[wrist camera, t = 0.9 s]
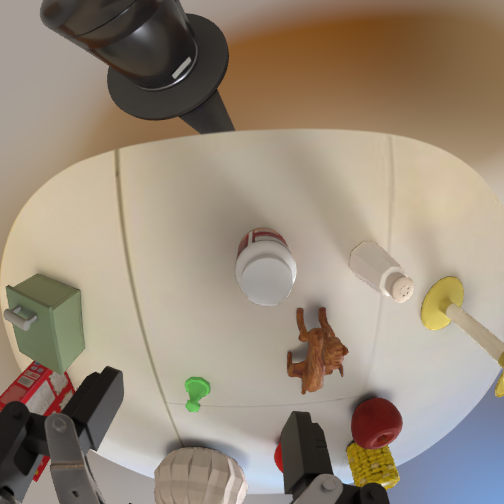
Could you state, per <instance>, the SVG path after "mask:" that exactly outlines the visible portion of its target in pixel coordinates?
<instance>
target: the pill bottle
mask: <svg viewBox="0 0 504 504" xmlns="http://www.w3.org/2000/svg"><path fill="white" fill-rule="evenodd" d="M235 277H236V281H237V283H238V285H239V287H240V288H241V289H242V291H243V292H244V294H245V296H246V297H247V298H248V299H249V300H250V301H252V302H253V303H255V304H258V305H261V306H272V305H276V304H278V303H280V302H282V301H283V300H284V299H286V298H287V296H288V295H289V294H290V292H291V290H292V286H293V283H294V281H295V277H296V263H295V260H294V258H293V256H292V254H291V252H290V250H289V248H288V246H287V244H286V242H285V240H284V239H283V237H282V236H281V235H280V234H278V233H277V232H276V231H274V230H271V229H267V228H259V229H255V230H253V231H251V232H249V233H248V234H247V235H246V236H245V237H244V238H243V239H242V241H241V243H240V245H239V249H238V255H237V260H236V265H235Z"/></svg>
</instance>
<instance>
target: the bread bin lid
mask: <svg viewBox="0 0 504 504" xmlns="http://www.w3.org/2000/svg"><path fill="white" fill-rule="evenodd" d="M6 292H7V299H8V304H9V309H6V310H5V311H4V318H5V319H6V320H8V321H9V322H11V323H12V324H13V328H14V332H15V336H16V340H17V344H18V348H19V351H20V352H22V353H23V354H25V355H26V356H28V357H30V358H31V359H33V360H35V361H36V362H38V363H40V364H41V365H43V366H45V367H47V368H49V369H50V370H52V371H54V372H56V373H58V374H60V375H62V374H63V373H64V372H63V367H62V363H61V359H60V354H59V349H58V344H57V339H56V333H55V327H54V320H53V313H52V306H50V305H48V304H46V303H44V302H41V301H39V300H37V299H35V298H33V297H31V296H29V295H27V294H25V293H23V292H21V291H19V290H17V289H15V288H13V287H11V286H9V285H8V286H6Z"/></svg>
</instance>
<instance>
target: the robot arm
mask: <svg viewBox="0 0 504 504" xmlns="http://www.w3.org/2000/svg"><path fill="white" fill-rule="evenodd" d="M40 17H41V20H42V22H43V24H44V25H45V26H47V27H48V28H49V29H51V30H53V31H54V32H56V33H58V34H59V35H61V36H63V37H64V38H66V39H68V40H70V41H71V42H73V43H75V44H76V45H78V46H79V47H81V48H83V49H84V50H86V51H87V52H89V53H91V54H92V55H93V56H95V57H96V58H98V59H100V60H101V61H103V62H104V63H106V64H107V65H109V66H110V67H112V68H113V69H114V70H116V71H117V72H119V73H120V74H122V75H123V76H125V77H126V78H127V79H129V80H130V81H132V83H133V84H135V85H136V86H137V87H139V88H140V89H143V90H145V91H150V92H159V91H164V90H168V89H170V88H173V87H175V86H177V85H178V84H180V83H181V82H183V81H184V80H185V79H186V78H187V77H188V76H189V75H190V74H191V73H192V71H193V70H194V68H195V66H196V64H197V61H198V57H199V51H198V47H197V44H196V42H195V40H194V36H195V34H194V31H193V29H192V27H191V25H190V23H189V20H188V18H187V16H186V14H185V12H184V10H183V8H182V6H181V3H180V1H179V0H43V2H42V4H41V8H40ZM123 397H124V386H123V373H122V371H120V370H117V369H115V368H112V367H109V366H106V367H105V368H104V370H103V371H102V373H101V374H99V373H97V372H94V373H92V374H90V375H89V376H87V377H86V378H85V379H84V381H83V382H82V384H81V385H80V386H79V388H78V389H77V391H76V392H75V393H74V394H73V396H72V397H71V399H70V400H69V401H68V403H67V404H66V405H65V407H64V408H63V410H62V411H61V412H60V413H53V414H51V415H49V416H43V415H40V414H36V413H32V412H29V409H28V408H27V406H26V405H25V404H24V403H22V402H20V401H11V402H9V403H7V404H6V405H5V407H4V408H3V409H2V411H1V412H0V504H22V501H23V499H24V496H25V494H26V492H27V490H28V488H29V485H30V483H31V481H32V479H33V477H34V475H35V473H36V471H37V468H38V466H39V464H40V462H41V460H42V458H43V457H44V455H45V456H48V457H50V458H51V465H50V471H51V475H52V479H53V483H54V487H55V490H56V493H57V496H58V500H59V502H60V504H106V503H105V501H104V498H103V496H102V494H101V492H100V490H99V488H98V485H97V483H96V480H95V478H94V475H93V472H92V469H91V467H90V464H89V461H88V457H87V455H86V454H87V452H88V450H89V449H92V450H95V451H97V450H98V448H99V446H100V444H101V442H102V440H103V438H104V436H105V434H106V432H107V430H108V428H109V426H110V424H111V422H112V420H113V418H114V417H115V415H116V413H117V411H118V409H119V407H120V405H121V403H122V401H123ZM281 450H282V463H283V477H284V490H285V494H292V495H293V500H292V501H291V502H290V503H289V504H390V503H389V499H388V496H387V492H386V489H385V488H384V487H383V486H382V485H381V484H379V483H375V482H371V483H367V484H365V485H364V486H363V487H358V486H351V485H347V484H344V483H342V482H341V480H340V479H339V478H338V477H336V476H334V474H333V471H332V466H331V462H330V457H329V453H328V448H327V444H326V441H325V435H324V431H323V430H322V428H321V427H320V426H319V424H318V423H312V421H311V416H310V413H309V412H300V411H293V412H292V413H291V415H290V417H289V418H288V420H287V422H286V424H285V426H284V428H283V430H282V433H281ZM129 504H131V503H129Z"/></svg>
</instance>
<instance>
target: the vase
mask: <svg viewBox="0 0 504 504" xmlns="http://www.w3.org/2000/svg"><path fill="white" fill-rule="evenodd" d="M154 474H155V491H154V494H155V502H156V504H242V503H243V500H244V498H245V495H246V492H247V490H248V484H247V481H246V478H245V475H244V472H243V470H242V468H241V467H240V466H239V465H238V463H237V461H235V460H234V459H232V458H231V457H229V456H227V455H225V454H223V453H222V452H218V451H217V450H213V449H209V448H203V447H187V448H181V449H177V450H173V451H171V452H170V453H169V454H168V455H167V456H166V457H165V458H164V460H163V461H162V462H161V463H160V465H159V466H158V467H157V469H156V470H155V472H154Z"/></svg>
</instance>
